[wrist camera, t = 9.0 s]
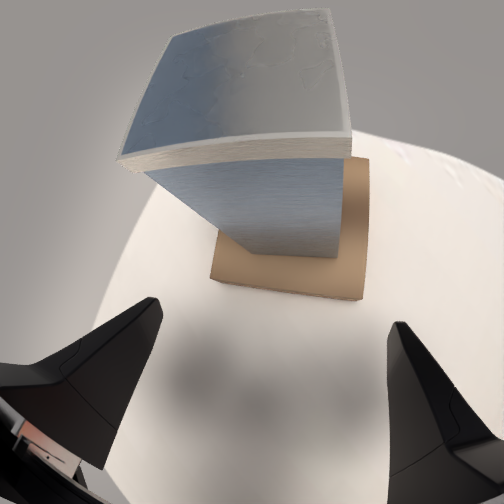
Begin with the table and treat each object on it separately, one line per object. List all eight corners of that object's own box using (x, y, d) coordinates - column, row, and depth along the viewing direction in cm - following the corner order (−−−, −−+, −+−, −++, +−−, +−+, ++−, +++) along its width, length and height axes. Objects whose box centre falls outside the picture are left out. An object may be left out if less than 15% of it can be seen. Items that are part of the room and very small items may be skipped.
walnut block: (354, 301, 19) (362, 299, 16) (222, 283, 21) (209, 278, 18) (362, 177, 21) (369, 158, 18) (244, 167, 23) (236, 148, 20)
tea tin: (339, 260, 16) (352, 137, 5) (249, 256, 18) (115, 160, 6) (340, 175, 18) (329, 8, 6) (258, 176, 19) (170, 36, 8)
